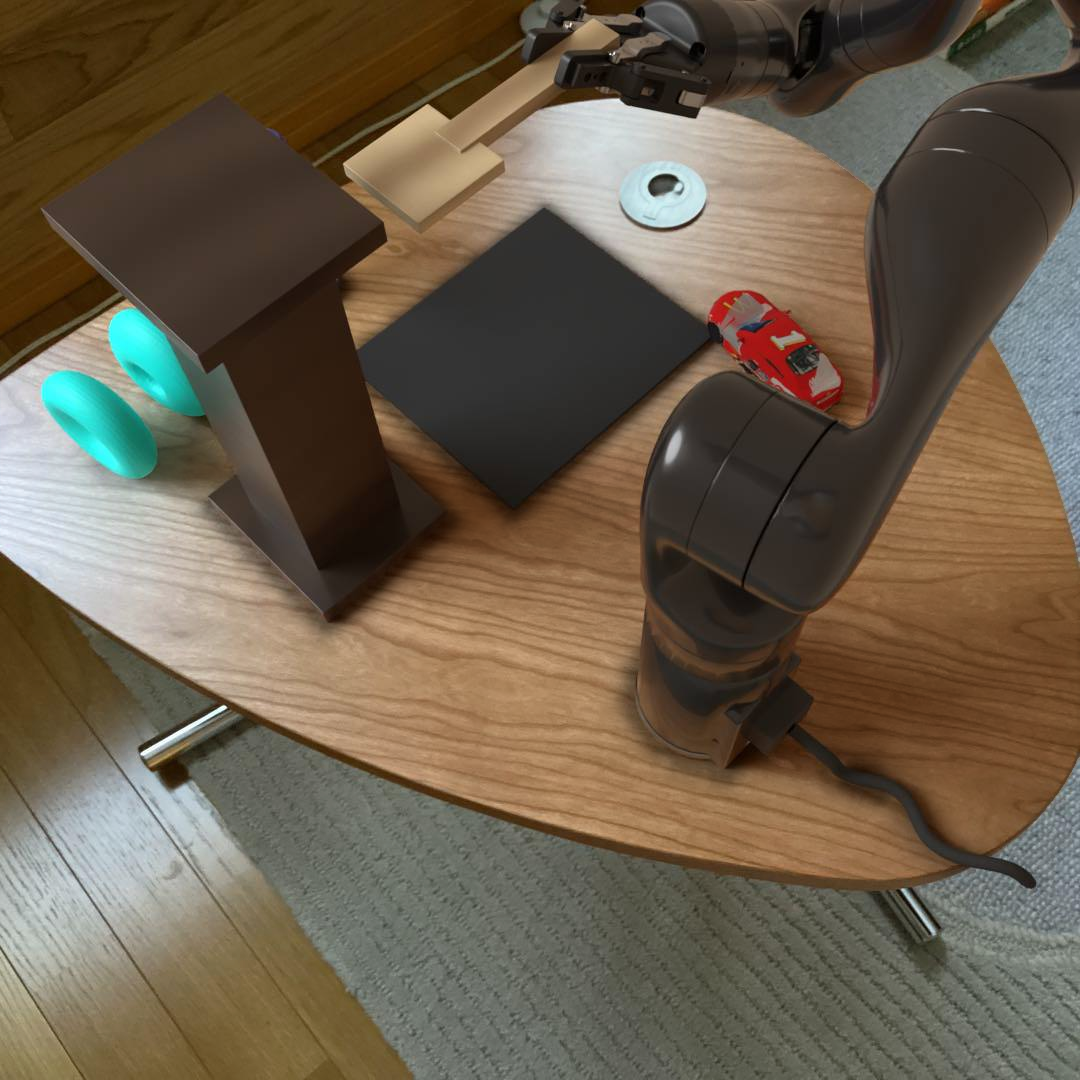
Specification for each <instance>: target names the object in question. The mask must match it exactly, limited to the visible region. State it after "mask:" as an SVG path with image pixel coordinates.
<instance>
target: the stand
mask: <svg viewBox="0 0 1080 1080" xmlns="http://www.w3.org/2000/svg"><path fill="white" fill-rule="evenodd" d="M268 129H269V128H268ZM268 129H267V127H266V126H264V125H263V124H262V123H261V122H259V121H258V120H257V119H256V118H255V117H253V116H252V115H251V114H249V112H247V111H246V110H244V109H243V108H242V107H241V106H240V105H238V104H237V103H236V102H234V101H233V100H232V99H231V98H229V97H228V96H227V95H225V94H224V93H223V92H222V91H219V92H218V93H216V94H215V95H213V96H212V97H210V98H208V99H207V100H206V101H204V102H203V103H201V104H199V105H198V106H196V107H195V108H193V109H192V110H190V111H189V112H187V113H186V114H184V115H182V116H181V117H179V118H178V119H176V120H174V121H173V122H171V123H170V124H168V125H167V126H165V127H164V128H162V129H160V130H159V131H158V132H156V133H154V134H153V135H151V136H150V137H148V138H146V139H145V140H143V141H142V142H141V143H139V144H137V145H136V146H135V147H133V148H131V149H130V150H127V152H124V154H121V155H120V156H119V157H117V158H116V159H114V160H113V161H111V162H109V163H108V164H107V165H105V166H103V167H101V169H99V170H97V171H96V172H94V173H92V174H91V175H88V177H86V178H84V179H82V181H80V182H78V183H77V184H76V185H74V186H72V187H71V188H69V189H67V190H66V191H64V192H63V193H62V194H60V195H58V196H57V197H55V198H54V199H52V200H50V201H49V202H48V203H46V204H45V205H43V206H41V207H40V210H41V211H42V214H43V215H44V217H45V219H46V221H47V222H48V224H49V226H50V228H51V229H52V230H53V231H54V232H56V233H57V234H58V235H59V236H60V237H61V238H62V239H63V240H64V241H65V242H66V243H67V244H68V245H69V246H70V247H71V248H72V249H73V250H75V252H77V253H78V254H79V255H80V256H81V257H82V258H83V259H84V260H85V261H86V262H87V263H88V264H89V265H90V266H92V267H93V269H94V270H96V272H98V273H99V274H100V275H101V277H103V278H104V279H105V280H106V281H107V282H108V283H109V284H111V285H112V287H114V288H115V289H116V291H118V292H119V293H120V294H121V295H123V297H124V298H125V299H126V300H127V301H128V302H130V304H132V306H133V307H134V308H135V309H138V310H139V311H140V312H141V313H142V314H143V315H144V316H145V317H146V318H148V319H149V320H150V321H151V322H152V323H153V324H154V325H155V326H156V327H157V328H158V329H159V330H160V331H161V332H162V333H163V334H164V335H165V337H166V339H167V340H168V342H169V344H170V346H171V348H172V350H173V352H174V354H175V356H176V358H177V360H178V362H179V364H180V366H181V368H182V370H183V372H184V374H185V375H186V377H187V379H188V381H189V383H190V385H191V387H192V389H193V391H194V393H195V395H196V397H197V399H198V401H199V403H200V405H201V407H202V409H203V410H204V412H205V416H206V418H207V420H208V423H209V424H210V427H211V428H212V430H213V432H214V434H215V436H216V438H217V440H218V441H219V444H220V445H221V447H222V450H223V451H224V453H225V455H226V458H227V459H228V461H229V464H230V466H231V467H232V469H233V471H234V473H235V474H234V475H233V476H232V477H231V478H229V479H228V480H227V481H226V482H224V483H223V484H222V485H220V486H219V487H217V488H216V489H215V490H213V491H212V492H211V493H210V494H209V495H207V500H208V502H209V503H210V505H211V506H212V508H213V509H214V510H215V511H216V512H217V513H218V514H219V515H220V516H221V517H222V518H223V519H224V520H225V522H227V523H228V524H229V525H230V526H231V527H232V528H233V529H234V530H235V531H236V532H237V533H238V534H239V535H240V536H241V537H242V538H243V540H245V541H246V543H248V544H249V545H250V546H251V547H252V548H253V549H254V550H255V551H256V552H257V553H258V554H259V555H260V556H261V557H262V558H263V559H264V560H265V561H266V562H267V563H268V564H269V566H271V568H272V569H273V570H275V572H277V573H278V575H280V576H281V578H282V579H283V580H284V581H285V582H286V583H287V584H288V585H289V586H290V587H291V588H292V589H293V590H295V592H296V593H297V594H298V595H299V596H300V597H301V598H302V599H303V600H304V601H305V602H306V603H307V604H308V605H309V606H310V607H311V608H312V609H313V610H314V611H315V612H316V613H317V614H318V615H319V616H320V617H321V618H322V619H323V620H324V621H325V623H328V622H330V621H331V620H332V619H333V618H335V617H336V616H337V615H338V614H339V613H341V612H342V611H343V610H344V609H346V607H348V606H349V605H350V604H351V603H352V602H353V601H355V600H356V599H357V598H359V596H360V595H362V594H363V593H364V592H365V591H366V590H367V589H369V588H370V587H371V586H373V585H374V583H376V582H377V581H378V580H380V579H381V578H382V577H383V576H384V575H386V573H388V572H389V571H390V570H391V569H392V568H394V567H395V566H396V565H398V563H399V562H400V561H402V560H403V559H404V558H405V557H406V556H407V555H409V554H410V553H412V552H413V551H414V549H416V548H417V547H419V545H421V543H423V542H424V541H425V540H426V539H428V538H429V537H430V536H432V535H433V533H435V532H436V531H437V530H438V529H439V528H441V527H442V526H443V525H445V523H447V521H448V520H449V518H448V513H447V509H445V508H444V507H443V506H442V505H441V504H440V503H439V502H438V501H436V499H434V498H433V497H432V496H431V495H430V494H429V493H427V492H426V490H425V489H423V488H422V487H421V486H420V485H419V484H418V483H416V481H414V479H412V478H411V477H410V476H409V475H408V474H407V473H406V472H405V471H403V470H402V469H401V468H400V467H399V466H398V465H396V464H395V462H394V461H392V460H391V459H390V457H388V456H387V452H386V449H385V446H384V442H383V438H382V434H381V432H380V428H379V424H378V421H377V418H376V417H377V416H376V415H375V414H376V413H375V410H374V407H373V403H372V400H371V396H370V393H369V390H368V386H367V381H366V380H365V379H364V375H363V372H362V368H361V365H360V361H359V358H358V354H357V351H356V350H357V348H356V344H355V341H354V337H353V333H352V330H351V327H350V323H349V320H348V317H347V313H346V312H347V311H346V310H345V309H346V308H345V304H344V302H343V299H342V295H341V290H340V291H339V288H338V284H337V281H336V279H337V278H339V279H340V277H342V276H343V275H344V274H346V273H347V272H348V271H349V270H351V269H352V268H354V267H356V266H357V265H358V264H359V263H361V262H362V261H363V260H365V259H366V258H367V257H369V256H370V255H372V254H373V253H374V252H376V251H377V250H378V249H380V248H381V247H383V246H384V245H385V244H387V243H388V241H389V239H388V235H387V232H386V225H385V222H384V221H383V220H382V219H381V218H379V216H377V215H376V214H374V213H373V211H371V210H370V209H369V208H367V207H366V206H365V205H363V204H362V203H361V202H360V201H358V200H357V199H356V198H354V197H353V196H352V195H351V194H349V192H347V191H346V190H345V189H343V188H342V187H341V186H340V185H338V184H337V183H336V182H335V181H333V179H331V178H330V177H328V176H327V175H326V174H325V173H323V172H322V171H321V170H320V169H319V168H317V167H316V166H315V165H313V164H312V163H311V162H309V161H308V160H307V159H306V158H304V156H302V155H300V154H299V153H298V152H297V151H296V150H294V149H293V148H292V147H291V146H290V145H289V146H290V147H289V146H288V145H287V144H286V143H284V142H283V141H282V140H281V139H279V138H278V137H277V136H276V135H274V134H273V133H272V132H271V131H269V130H268Z"/></svg>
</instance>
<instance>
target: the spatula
mask: <svg viewBox="0 0 1080 1080" xmlns="http://www.w3.org/2000/svg"><path fill="white" fill-rule="evenodd" d="M614 48H620V35H619V34H618V33H616V32H614V31H613V30H611V29H610V28H608V27H607V26H605V25H604V24H602V23H600V22H599V21H597V20H596V19H594V18H593V19H592V20H590V21H589V22H587V23H586V24H585V25H583V26H582V27H580V28H579V29H578V30H576V31H575V32H574V33H572V34H571V35H569V36H568V37H567V38H565V39H564V40H562V41H561V42H560V43H558V44H557V45H555V46H554V47H553V48H551V49H550V50H548V51H547V52H546V53H544V54H543V55H542V56H540V57H539V58H537V59H536V60H535V61H533V62H532V63H530V64H529V65H527V64H526V66H524V67H523V68H521V69H520V70H518V71H517V72H515V73H514V74H513V75H512V76H510V77H509V78H508V79H506V80H505V81H503V82H502V83H500V84H499V85H497V86H496V87H495V88H493V89H492V90H491V91H490V92H487V94H485V95H484V96H483V97H481V98H480V99H478V100H477V101H475V102H474V103H473V104H471V105H470V106H468V107H466V109H464V110H462V111H461V112H460V113H459V114H457V115H455V116H454V117H453V118H451V119H449V118H448V117H447V116H445V115H444V114H443V113H441V112H440V111H439V110H437V109H436V108H435V107H433V106H432V105H430V104H429V103H427V104H425V105H424V106H423V107H420V109H418V110H417V111H415V112H414V113H412V114H411V115H410V116H408V117H406V118H405V119H404V120H402V121H401V122H400V123H399V124H397V125H396V126H394V127H393V128H391V129H389V130H388V131H387V132H385V133H384V134H383V135H381V136H380V137H378V138H377V139H376V140H373V142H371V143H370V144H368V145H367V146H366V147H364V148H362V149H361V150H360V151H358V152H357V153H355V155H353V156H351V157H349V159H347V160H346V161H344V162H343V163H342V166H343V170H344V173H345V176H346V177H348V178H349V179H350V180H352V181H353V182H354V183H355V184H356V185H358V186H359V187H360V188H361V189H362V190H364V191H365V192H366V193H368V194H369V195H370V196H372V197H373V198H374V199H375V200H376V201H378V202H379V203H380V204H382V205H383V206H384V207H385V208H386V209H388V210H389V211H390V212H391V213H393V214H394V215H395V216H397V217H398V218H399V219H400V220H402V221H403V222H404V223H406V224H407V225H408V226H409V227H411V228H412V229H413V230H414V231H416V232H417V233H418V234H419V235H422V234H423V233H425V232H427V230H429V229H430V228H432V227H433V226H434V225H435V224H437V223H438V222H440V221H441V220H442V219H443V218H446V217H447V216H448V215H449V214H450V213H451V212H453V211H454V210H455V209H457V208H458V207H460V206H461V205H462V204H464V203H465V202H466V201H468V200H469V199H470V198H471V197H473V196H474V195H476V194H477V193H479V192H480V191H481V190H482V189H484V188H485V187H486V186H488V185H489V184H491V183H492V182H493V181H495V180H497V178H498V177H500V176H501V175H503V174H505V172H506V164H505V159H504V158H503V157H502V156H500V155H498V154H497V153H496V152H494V150H492V149H490V148H489V147H490V146H492V144H494V143H495V142H497V141H498V140H500V139H501V138H502V137H504V136H505V135H506V134H507V133H509V132H511V131H512V130H513V129H514V128H516V127H517V126H519V125H520V124H522V123H523V122H524V121H525V120H527V119H528V118H529V117H530V116H532V115H533V114H535V113H537V112H538V111H539V110H540V109H542V108H543V107H545V106H546V105H547V104H549V103H550V102H551V101H553V100H554V99H555V98H557V97H558V96H559V95H561V94H562V93H564V92H565V91H566V90H563V89H562V88H560V87H559V86H557V85H556V84H555V83H554V77H555V74H556V71H557V68H558V65H559V62H560V59H561V57H562V55H563V54H564V52H566V51H568V50H591V49H600V50H602V51H603V52H605V53H607V50H608V49H614Z"/></svg>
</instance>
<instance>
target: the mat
mask: <svg viewBox="0 0 1080 1080" xmlns="http://www.w3.org/2000/svg"><path fill="white" fill-rule="evenodd" d="M711 340H713V339H712V338H711V336H710V334H709V330H708V327H707V325H705V324H704V323H703V322H701V321H700V320H698V319H697V318H695V317H694V316H693V315H692V314H690V313H689V312H688V311H686V310H685V309H684V308H682V307H680V305H678V304H677V303H675V302H674V301H673V300H671V299H670V298H669V297H667V296H666V295H665V294H663V293H662V292H661V291H660V290H658V289H656V288H655V287H654V286H652V285H651V284H649V282H647V281H645V280H644V279H643V278H642V277H640V276H639V275H637V274H636V273H635V272H634V271H632V270H631V269H629V268H628V267H626V266H625V265H624V264H623V263H621V262H620V261H618V260H617V259H616V258H614V256H612V255H610V254H609V253H608V252H606V251H605V250H603V249H602V248H601V247H599V245H597V244H595V243H594V242H592V240H589V239H588V238H587V237H585V235H583V234H582V233H580V232H579V231H578V230H576V229H575V228H574V227H572V226H571V225H570V224H568V223H567V222H565V221H564V220H563V219H561V218H560V217H559V216H557V215H556V214H555V213H554V212H552V211H550V210H549V209H548V208H546V207H545V206H543V207H542V208H541V209H539V210H538V211H537V212H536V213H534V214H533V215H532V216H530V217H529V218H528V219H526V220H525V221H523V222H522V223H521V224H519V225H518V226H517V227H516V228H514V229H513V230H512V231H511V232H509V233H508V234H507V235H505V236H504V237H503V238H501V239H500V240H499V241H497V242H496V243H494V245H492V246H491V247H489V249H487V250H486V251H485V252H483V253H482V254H481V255H479V256H478V257H476V258H475V259H474V260H473V261H472V262H470V263H469V264H467V265H466V266H465V267H464V268H463V269H461V270H459V271H458V272H457V273H456V274H454V275H453V276H452V277H450V278H449V279H448V280H446V281H445V282H444V283H443V284H441V285H440V286H439V287H438V288H436V289H434V291H432V292H431V293H429V294H428V295H427V296H425V297H424V298H423V299H422V300H421V301H419V302H418V303H416V304H415V305H414V306H413V307H411V308H410V309H409V310H407V311H406V312H405V313H404V314H402V315H401V316H399V317H398V318H397V319H396V320H394V321H393V322H392V323H390V324H389V325H388V326H387V327H385V328H384V329H382V330H381V331H380V332H378V333H377V334H376V335H375V336H373V337H372V338H371V339H369V340H368V341H367V342H365V343H364V344H363V345H362V346H360V347H359V348H358V349H356V351H357V354H358V358H359V361H360V365H361V368H362V372H363V375H364V379H365V382H366V383H367V384H369V386H371V387H372V388H373V389H374V390H376V391H377V392H378V393H379V394H380V395H382V396H383V398H385V399H386V400H387V401H388V402H389V403H390V404H391V405H393V406H394V408H396V409H397V410H398V411H400V412H401V413H402V414H403V415H404V416H405V417H406V418H408V419H409V420H410V421H411V422H412V423H413V424H414V425H415V426H417V428H419V430H421V431H422V432H423V433H424V434H426V435H427V436H428V437H430V439H431V440H433V441H434V442H435V444H437V445H438V446H439V447H440V448H442V449H443V450H444V451H445V452H446V453H448V454H449V456H451V458H453V459H454V460H455V461H456V462H457V463H459V464H460V465H461V467H463V468H464V469H466V470H467V472H469V473H470V474H471V475H472V476H474V478H476V480H478V481H479V482H480V483H481V484H482V485H484V486H485V487H486V488H487V489H488V490H489V491H491V492H492V493H493V494H494V495H495V496H496V497H497V498H499V499H500V500H501V501H502V502H503V503H504V504H505V505H506V506H507V507H509V508H510V509H511V510H512V511H516V510H517V509H518V508H519V507H520V506H521V505H523V504H524V503H525V502H526V501H528V499H530V498H531V497H532V496H533V495H534V494H535V493H536V492H538V491H539V490H540V489H541V488H543V487H544V486H545V485H546V484H547V483H548V482H549V481H550V480H552V479H553V478H554V477H555V476H556V475H557V474H559V472H561V471H562V470H563V469H564V468H566V467H567V465H569V464H570V463H571V462H572V461H573V460H574V459H576V458H577V457H578V456H579V455H581V454H582V452H584V451H585V450H586V449H587V448H588V447H590V446H591V445H592V444H593V443H594V442H595V441H597V440H598V439H599V438H600V437H602V435H603V434H604V433H606V432H607V431H608V430H609V429H610V428H611V427H612V426H614V425H615V424H616V423H617V422H618V421H619V420H621V419H622V418H623V417H624V416H625V415H626V414H627V413H629V412H630V411H631V410H632V409H633V408H635V407H636V406H637V405H638V404H639V403H641V401H643V399H645V398H646V397H647V396H649V394H651V393H652V392H653V391H654V390H655V389H656V388H658V386H660V385H661V384H662V383H663V382H665V380H667V379H668V378H669V377H670V376H671V375H672V374H674V373H675V372H676V371H677V370H678V369H679V368H681V367H682V366H683V365H684V364H685V363H687V361H689V360H690V359H691V358H692V357H694V355H696V354H697V353H698V352H699V351H700V350H701V349H702V348H704V347H705V346H706V345H707V344H708V343H709V342H710V341H711Z"/></svg>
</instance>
